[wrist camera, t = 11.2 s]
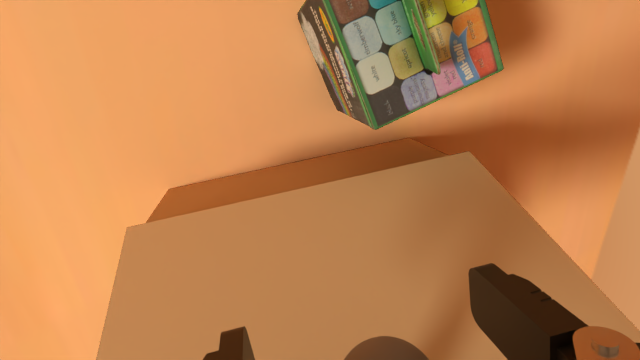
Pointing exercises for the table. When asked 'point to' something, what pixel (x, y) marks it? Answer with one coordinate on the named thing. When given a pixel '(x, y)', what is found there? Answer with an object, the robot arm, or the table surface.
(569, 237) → the table surface
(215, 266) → the carton flap
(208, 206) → the carton
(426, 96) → the chalk box
